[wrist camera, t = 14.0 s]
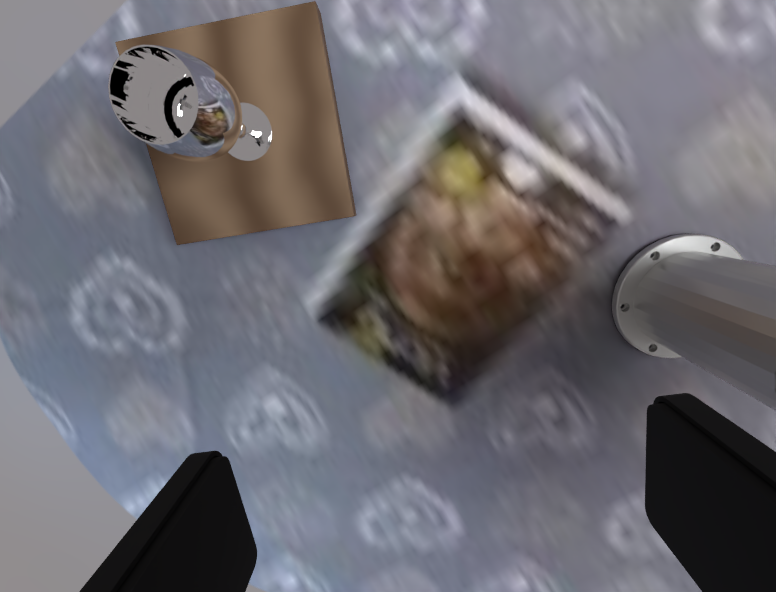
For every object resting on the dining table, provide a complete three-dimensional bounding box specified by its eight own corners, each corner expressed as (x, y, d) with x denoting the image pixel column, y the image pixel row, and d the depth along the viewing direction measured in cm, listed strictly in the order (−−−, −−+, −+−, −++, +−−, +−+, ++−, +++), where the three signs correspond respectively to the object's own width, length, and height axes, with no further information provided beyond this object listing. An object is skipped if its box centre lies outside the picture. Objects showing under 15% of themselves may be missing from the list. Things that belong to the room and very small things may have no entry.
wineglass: (295, 134, 31) (232, 99, 19) (248, 184, 32) (162, 179, 20) (242, 76, 30) (143, 2, 18) (196, 130, 31) (74, 92, 19)
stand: (326, 26, 33) (315, 1, 28) (359, 213, 37) (353, 216, 32) (151, 61, 34) (115, 41, 29) (202, 239, 38) (176, 245, 33)
